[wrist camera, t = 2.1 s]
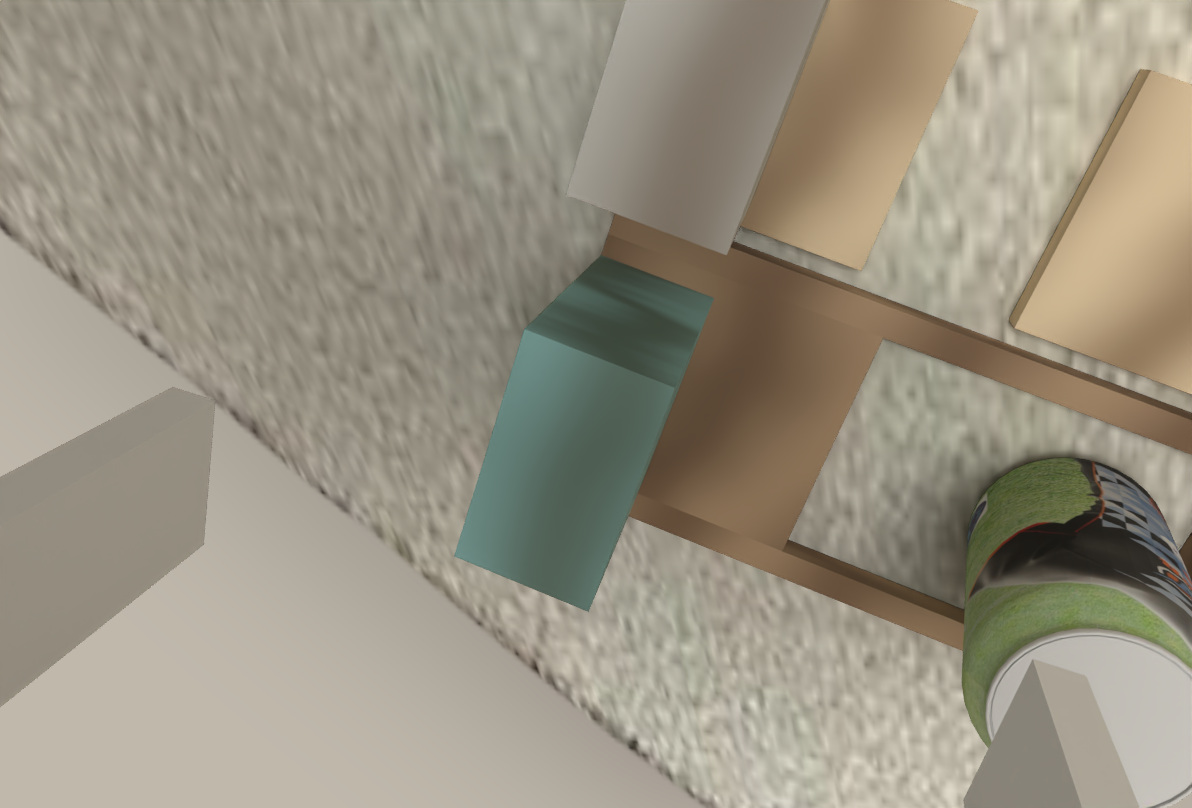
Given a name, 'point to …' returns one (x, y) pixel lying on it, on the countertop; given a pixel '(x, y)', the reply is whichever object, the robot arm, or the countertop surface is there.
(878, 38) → the broken strip
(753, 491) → the wooden frame with block
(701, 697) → the countertop surface
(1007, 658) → the beverage can
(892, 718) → the countertop surface
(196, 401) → the robot arm
